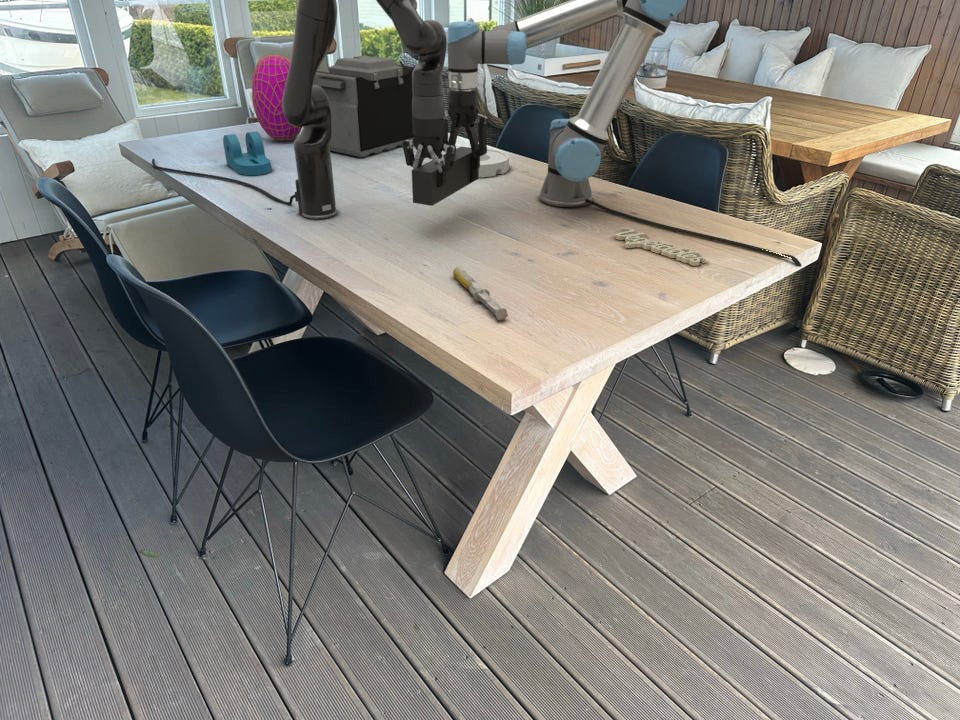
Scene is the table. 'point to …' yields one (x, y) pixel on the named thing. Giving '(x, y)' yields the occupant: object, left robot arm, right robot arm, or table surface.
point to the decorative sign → (659, 247)
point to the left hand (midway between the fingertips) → (430, 184)
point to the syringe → (479, 293)
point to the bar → (455, 179)
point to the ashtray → (493, 163)
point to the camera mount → (246, 154)
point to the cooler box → (368, 104)
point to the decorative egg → (272, 97)
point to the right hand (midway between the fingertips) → (463, 179)
